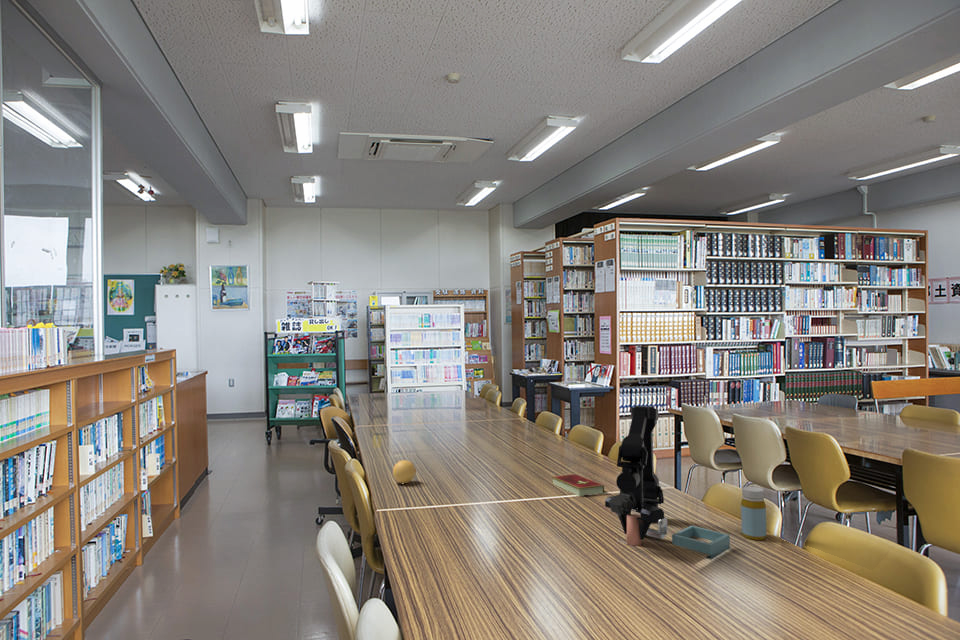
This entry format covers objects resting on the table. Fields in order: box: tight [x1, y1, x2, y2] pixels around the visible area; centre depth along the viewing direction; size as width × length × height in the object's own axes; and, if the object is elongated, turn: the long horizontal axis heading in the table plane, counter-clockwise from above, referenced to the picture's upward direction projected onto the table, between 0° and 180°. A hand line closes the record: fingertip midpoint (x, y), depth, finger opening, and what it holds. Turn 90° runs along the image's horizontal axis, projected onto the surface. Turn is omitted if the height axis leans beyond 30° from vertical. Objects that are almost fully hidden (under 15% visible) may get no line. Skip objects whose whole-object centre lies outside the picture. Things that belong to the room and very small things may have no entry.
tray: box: [671, 525, 731, 560], centre depth 171 cm, size 12×12×4 cm
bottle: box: [740, 485, 767, 541], centre depth 181 cm, size 7×7×15 cm
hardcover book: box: [551, 473, 605, 497], centre depth 239 cm, size 12×21×4 cm, turn 24°
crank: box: [645, 515, 668, 540], centre depth 177 cm, size 11×4×7 cm, turn 43°
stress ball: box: [392, 459, 417, 484], centre depth 251 cm, size 10×10×10 cm
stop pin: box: [626, 513, 643, 547], centre depth 173 cm, size 4×4×8 cm
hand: (634, 536), depth 173 cm, fingers open, 6 cm apart
